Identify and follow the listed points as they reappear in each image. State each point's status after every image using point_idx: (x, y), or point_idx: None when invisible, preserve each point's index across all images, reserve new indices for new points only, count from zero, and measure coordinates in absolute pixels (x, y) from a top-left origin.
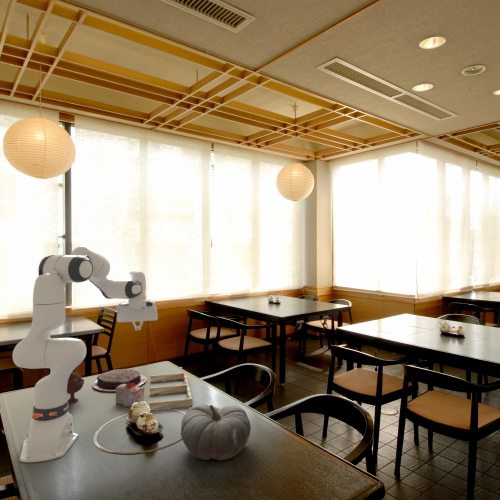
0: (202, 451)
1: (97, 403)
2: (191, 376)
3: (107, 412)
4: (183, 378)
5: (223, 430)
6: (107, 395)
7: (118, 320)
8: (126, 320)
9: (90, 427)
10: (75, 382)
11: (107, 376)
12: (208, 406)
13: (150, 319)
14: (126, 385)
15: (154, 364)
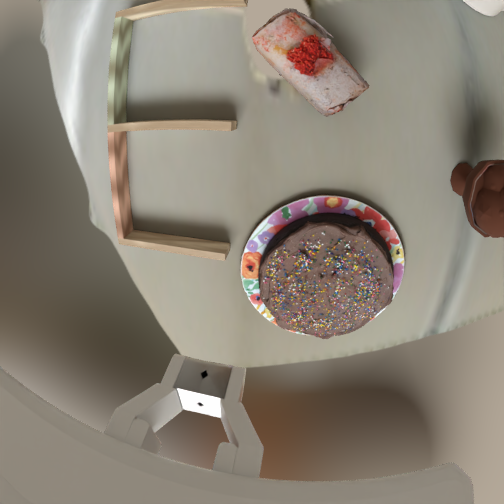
0: None
1: (408, 124)
2: (116, 246)
3: (378, 37)
4: (132, 231)
5: None
6: (376, 180)
7: (462, 481)
8: (360, 501)
9: None
10: (497, 168)
11: (371, 277)
12: None
13: (11, 391)
14: (327, 54)
15: None
